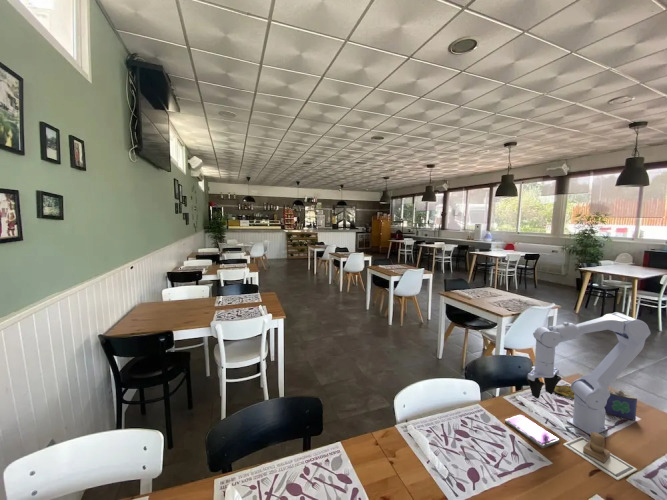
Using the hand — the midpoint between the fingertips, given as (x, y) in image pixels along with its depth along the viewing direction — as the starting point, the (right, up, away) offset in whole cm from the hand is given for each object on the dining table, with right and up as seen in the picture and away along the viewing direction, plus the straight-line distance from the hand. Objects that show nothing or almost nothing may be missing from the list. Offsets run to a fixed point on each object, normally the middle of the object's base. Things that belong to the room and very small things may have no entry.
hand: (542, 394), depth 104 cm
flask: (+32, -10, +3) cm, 34 cm away
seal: (+26, -9, +18) cm, 33 cm away
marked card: (+5, -11, -17) cm, 21 cm away
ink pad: (-8, -10, -6) cm, 14 cm away
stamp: (+5, -11, -16) cm, 20 cm away
